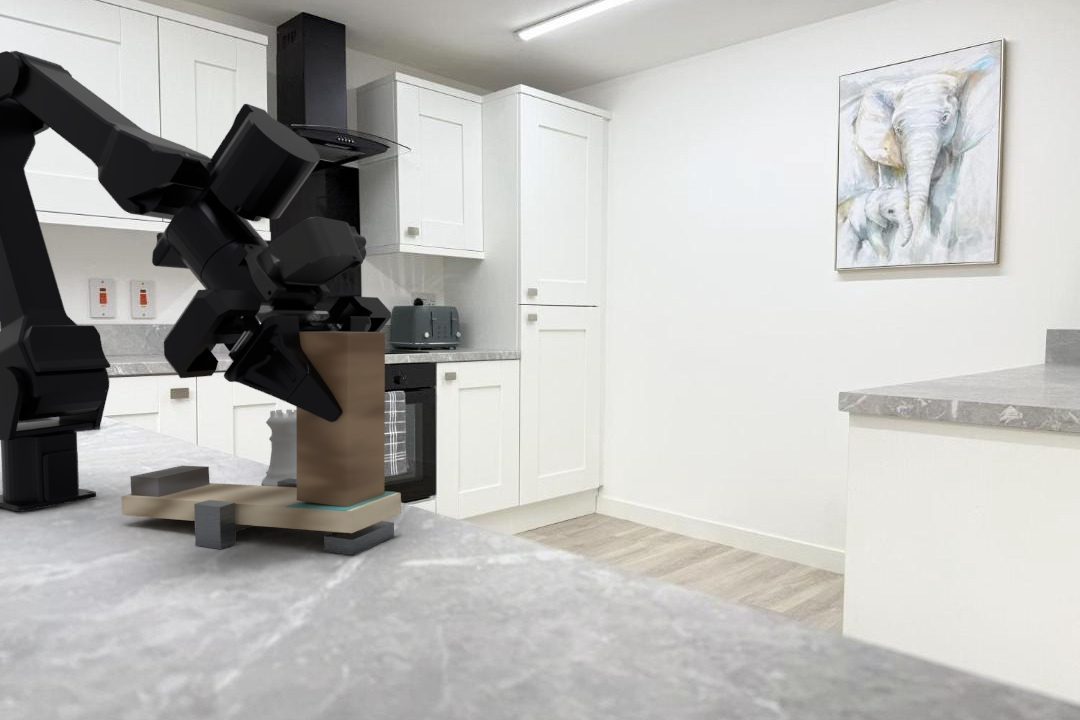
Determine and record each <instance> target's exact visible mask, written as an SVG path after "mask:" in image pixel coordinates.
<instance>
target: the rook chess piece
mask: <svg viewBox="0 0 1080 720" xmlns="http://www.w3.org/2000/svg"><path fill="white" fill-rule="evenodd" d="M285 410H286V411H285V412H286V413H284V412H283V409H275V410H270V413H269V414H270V415H269V418H268V419H267V420H266V421H265V423H266V424H267V426H268V427H269V428H270V431H271V436H270V437H269V438H268V440H269V441H270V443H271V446H270V447H271V452H270V459H269V465H268V469H267V470H266V471H265V474H266V476H265V477H264V478H263V479H262V481H261V485H260V486H276V487H277V481H281V480H285V479H289V478H291V479H297V432H296V409H285Z"/></svg>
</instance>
